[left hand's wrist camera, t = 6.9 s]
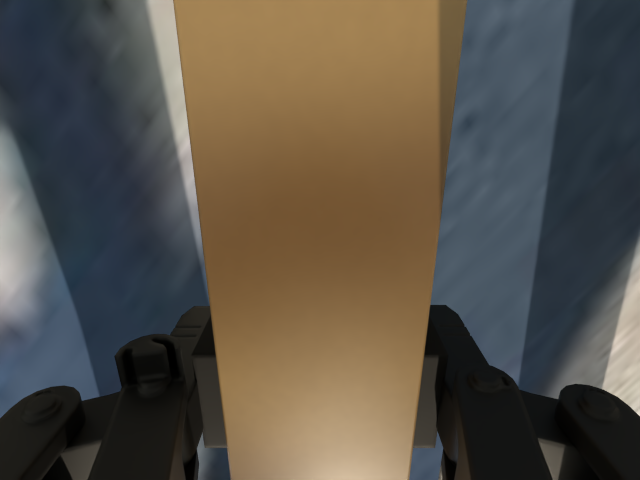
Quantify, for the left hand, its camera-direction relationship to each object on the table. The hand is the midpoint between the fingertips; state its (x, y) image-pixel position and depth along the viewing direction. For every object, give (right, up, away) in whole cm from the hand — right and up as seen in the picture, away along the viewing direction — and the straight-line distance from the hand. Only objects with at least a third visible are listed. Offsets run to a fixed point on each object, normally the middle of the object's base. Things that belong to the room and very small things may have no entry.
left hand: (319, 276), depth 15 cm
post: (0, +18, -6) cm, 19 cm away
